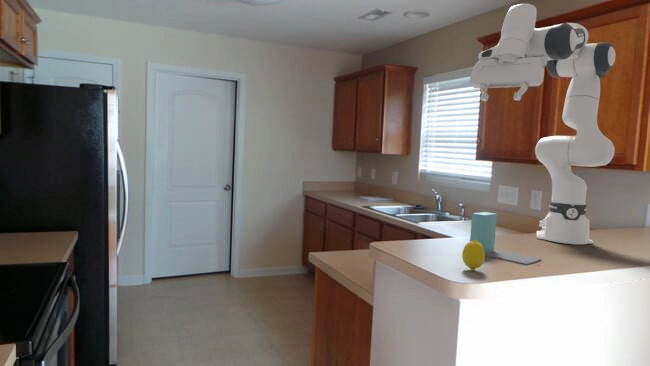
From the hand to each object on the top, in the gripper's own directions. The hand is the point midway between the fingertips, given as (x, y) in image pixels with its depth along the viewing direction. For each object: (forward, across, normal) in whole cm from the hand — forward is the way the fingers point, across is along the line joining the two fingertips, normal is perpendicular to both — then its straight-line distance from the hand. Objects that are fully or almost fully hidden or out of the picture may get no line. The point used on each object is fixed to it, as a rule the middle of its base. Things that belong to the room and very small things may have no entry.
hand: (499, 99), depth 126 cm
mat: (+41, -6, -21) cm, 47 cm away
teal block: (+41, +4, -22) cm, 47 cm away
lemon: (+49, -5, +2) cm, 50 cm away
